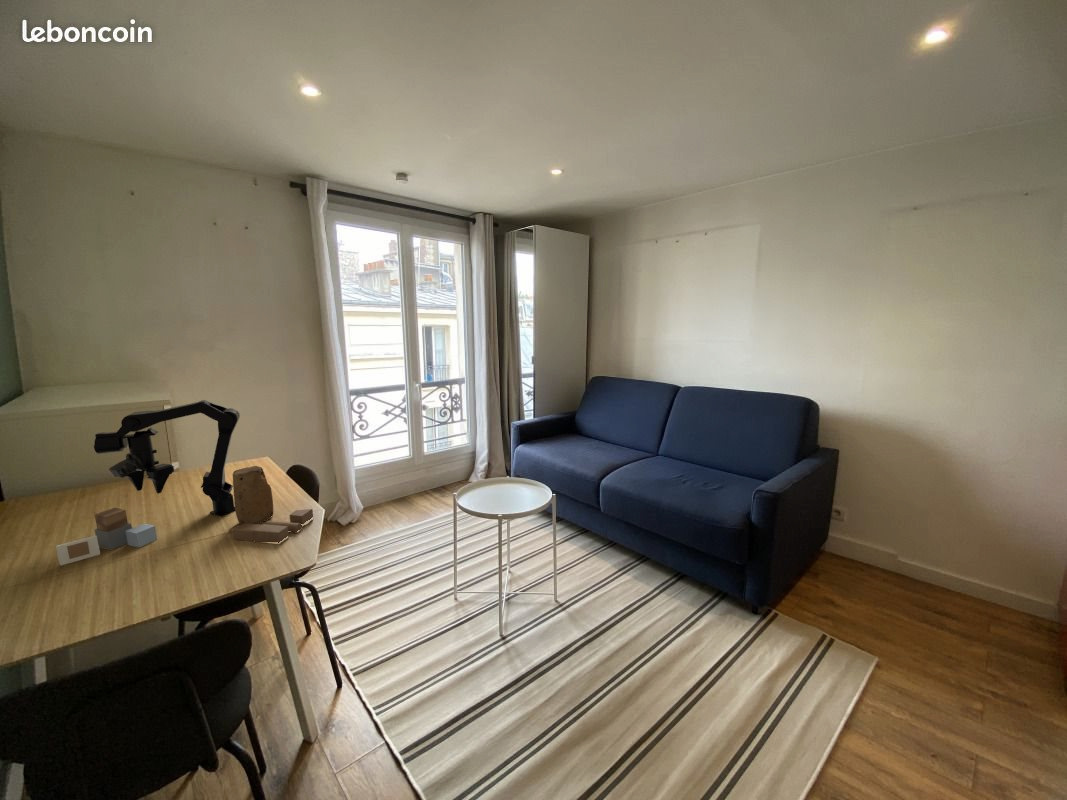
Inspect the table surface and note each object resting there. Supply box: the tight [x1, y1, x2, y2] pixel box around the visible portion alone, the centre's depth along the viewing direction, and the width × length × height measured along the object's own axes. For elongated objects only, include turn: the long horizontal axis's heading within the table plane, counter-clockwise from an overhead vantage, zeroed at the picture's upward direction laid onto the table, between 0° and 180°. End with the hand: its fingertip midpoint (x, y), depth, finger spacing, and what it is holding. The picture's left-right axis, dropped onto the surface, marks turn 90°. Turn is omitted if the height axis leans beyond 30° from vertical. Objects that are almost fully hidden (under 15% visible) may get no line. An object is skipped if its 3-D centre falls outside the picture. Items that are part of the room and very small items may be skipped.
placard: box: [55, 535, 101, 566], centre depth 119 cm, size 1×8×6 cm, turn 139°
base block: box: [94, 522, 133, 551], centre depth 128 cm, size 6×6×6 cm
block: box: [232, 465, 274, 525], centre depth 143 cm, size 11×8×20 cm
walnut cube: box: [94, 507, 129, 532], centre depth 127 cm, size 5×5×5 cm
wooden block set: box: [231, 508, 314, 543], centre depth 138 cm, size 17×6×18 cm
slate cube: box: [125, 523, 158, 549], centre depth 129 cm, size 5×5×5 cm
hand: (149, 491), depth 139 cm, fingers open, 9 cm apart
